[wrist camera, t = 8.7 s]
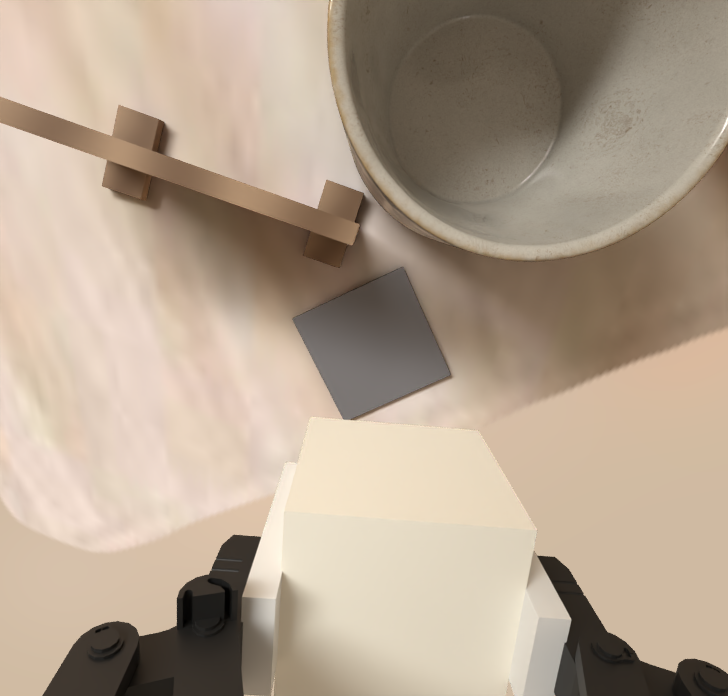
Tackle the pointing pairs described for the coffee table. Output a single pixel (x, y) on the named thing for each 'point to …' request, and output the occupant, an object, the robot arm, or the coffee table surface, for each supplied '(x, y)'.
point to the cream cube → (400, 564)
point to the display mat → (372, 344)
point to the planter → (530, 115)
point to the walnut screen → (192, 175)
